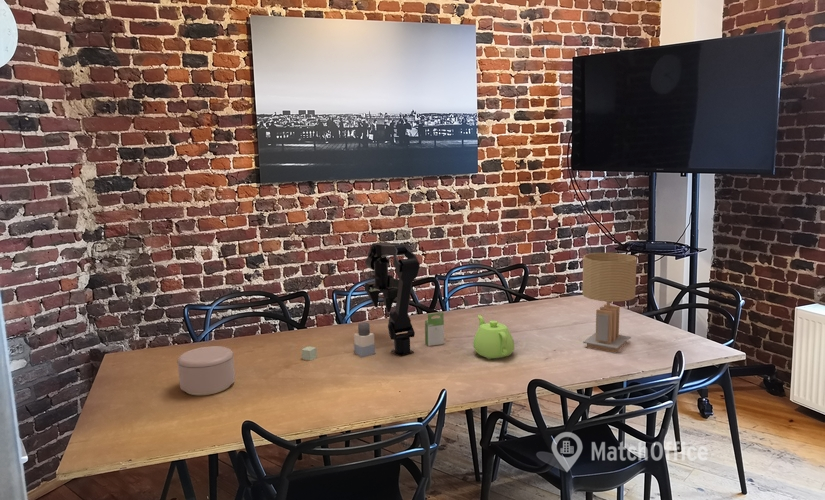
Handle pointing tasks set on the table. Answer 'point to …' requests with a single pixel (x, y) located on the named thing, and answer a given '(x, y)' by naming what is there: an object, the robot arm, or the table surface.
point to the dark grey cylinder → (363, 329)
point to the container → (206, 370)
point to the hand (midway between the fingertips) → (382, 309)
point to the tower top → (364, 340)
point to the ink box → (434, 330)
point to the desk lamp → (608, 295)
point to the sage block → (309, 353)
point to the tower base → (364, 350)
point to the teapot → (493, 340)
